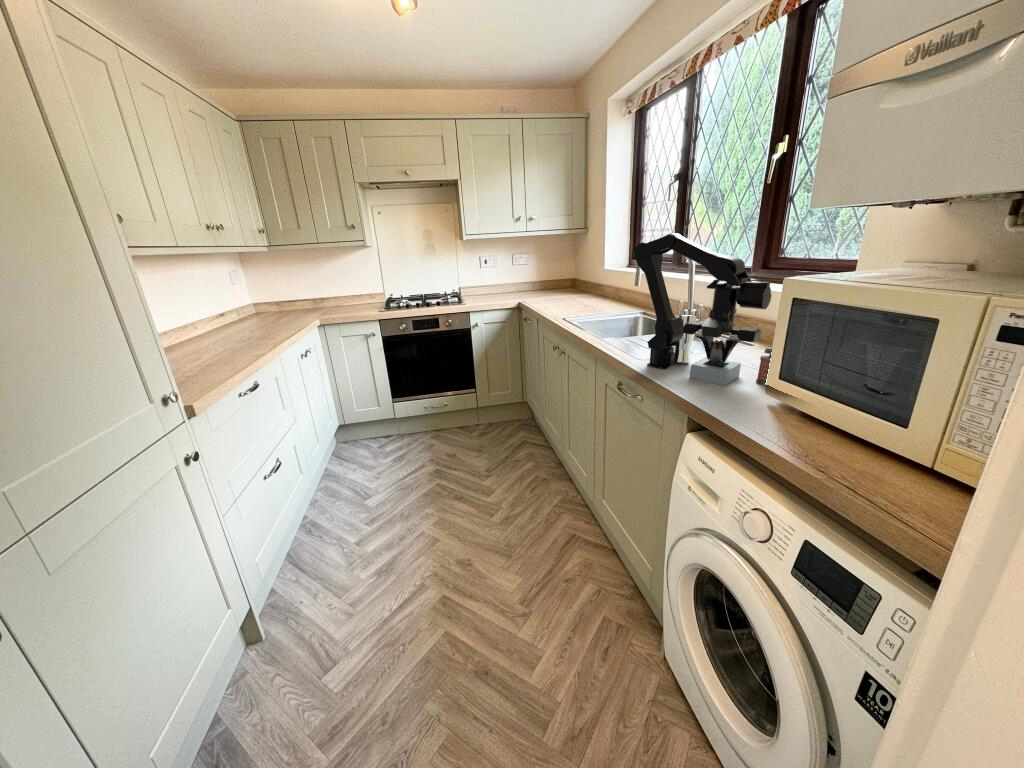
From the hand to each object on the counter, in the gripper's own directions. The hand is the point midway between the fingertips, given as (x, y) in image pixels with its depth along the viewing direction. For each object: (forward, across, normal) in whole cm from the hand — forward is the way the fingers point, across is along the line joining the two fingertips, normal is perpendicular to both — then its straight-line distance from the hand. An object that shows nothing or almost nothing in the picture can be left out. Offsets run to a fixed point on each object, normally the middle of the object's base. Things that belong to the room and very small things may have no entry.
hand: (716, 360), depth 113 cm
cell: (+2, 0, 0) cm, 2 cm away
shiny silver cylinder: (+5, -14, +7) cm, 16 cm away
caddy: (+5, 0, 0) cm, 5 cm away
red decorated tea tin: (+5, +14, +4) cm, 15 cm away
